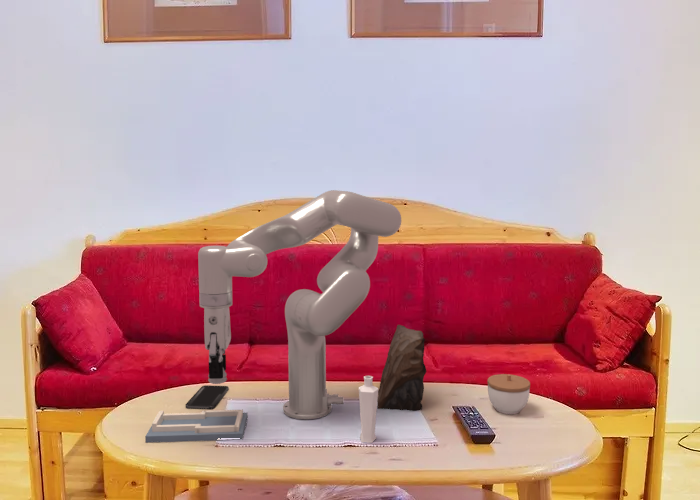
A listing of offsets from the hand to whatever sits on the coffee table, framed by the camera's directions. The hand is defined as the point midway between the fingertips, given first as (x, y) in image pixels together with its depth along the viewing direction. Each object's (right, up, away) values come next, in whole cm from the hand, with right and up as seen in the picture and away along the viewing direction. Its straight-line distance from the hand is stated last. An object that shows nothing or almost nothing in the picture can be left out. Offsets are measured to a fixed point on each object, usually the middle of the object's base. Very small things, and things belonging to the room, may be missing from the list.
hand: (217, 373), depth 144 cm
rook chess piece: (0, -2, 0) cm, 2 cm away
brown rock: (+44, -12, +18) cm, 49 cm away
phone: (-7, -12, +21) cm, 25 cm away
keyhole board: (-5, -14, +2) cm, 15 cm away
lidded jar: (+72, -12, +14) cm, 75 cm away
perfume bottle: (+36, -15, -3) cm, 39 cm away
